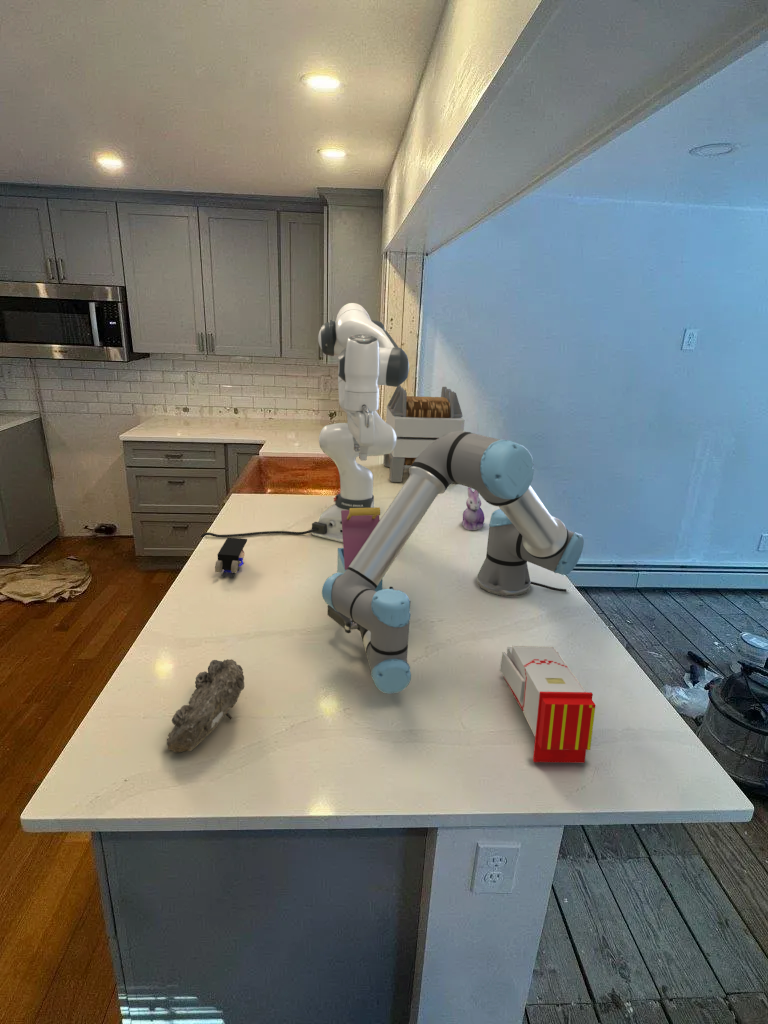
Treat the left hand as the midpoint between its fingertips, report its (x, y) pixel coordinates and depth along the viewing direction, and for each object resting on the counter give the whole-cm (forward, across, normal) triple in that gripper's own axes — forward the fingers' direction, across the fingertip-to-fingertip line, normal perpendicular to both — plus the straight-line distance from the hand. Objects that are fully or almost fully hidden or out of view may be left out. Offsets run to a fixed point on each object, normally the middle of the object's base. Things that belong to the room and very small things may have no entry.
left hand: (359, 455), depth 148 cm
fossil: (+38, -50, +36) cm, 72 cm away
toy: (+38, -58, -28) cm, 75 cm away
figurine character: (+38, +15, +35) cm, 54 cm away
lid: (+21, -7, 0) cm, 22 cm away
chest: (+38, -4, 0) cm, 38 cm away
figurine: (+38, +42, -50) cm, 76 cm away
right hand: (+32, -16, +1) cm, 36 cm away
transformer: (+38, +113, -49) cm, 129 cm away
